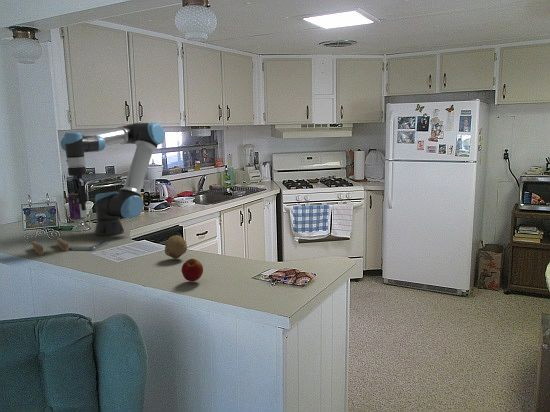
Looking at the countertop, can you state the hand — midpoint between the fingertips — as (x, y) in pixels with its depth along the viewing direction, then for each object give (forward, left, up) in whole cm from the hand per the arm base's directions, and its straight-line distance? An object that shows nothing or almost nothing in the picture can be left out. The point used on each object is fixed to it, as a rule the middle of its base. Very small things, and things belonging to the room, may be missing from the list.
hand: (82, 216), depth 213 cm
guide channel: (+14, -6, -15) cm, 21 cm away
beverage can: (+1, -1, -1) cm, 2 cm away
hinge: (-1, +7, -15) cm, 17 cm away
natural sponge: (-24, +47, -15) cm, 55 cm away
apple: (-15, +78, -15) cm, 81 cm away
